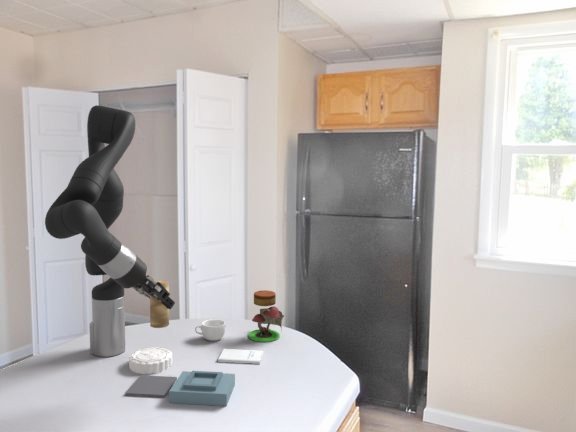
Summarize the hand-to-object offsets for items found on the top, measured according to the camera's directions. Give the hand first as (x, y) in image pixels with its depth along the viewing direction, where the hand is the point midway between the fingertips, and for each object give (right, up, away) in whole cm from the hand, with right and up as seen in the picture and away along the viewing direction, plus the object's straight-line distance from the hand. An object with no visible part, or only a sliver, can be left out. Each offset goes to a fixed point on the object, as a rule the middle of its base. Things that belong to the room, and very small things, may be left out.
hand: (165, 303), depth 120 cm
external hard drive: (+17, -21, +21) cm, 34 cm away
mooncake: (-8, -21, +14) cm, 26 cm away
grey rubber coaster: (-4, -22, +1) cm, 22 cm away
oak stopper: (-1, -5, -1) cm, 6 cm away
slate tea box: (+10, -22, -2) cm, 24 cm away
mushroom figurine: (+24, -18, +38) cm, 48 cm away
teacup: (+6, -18, +35) cm, 40 cm away
